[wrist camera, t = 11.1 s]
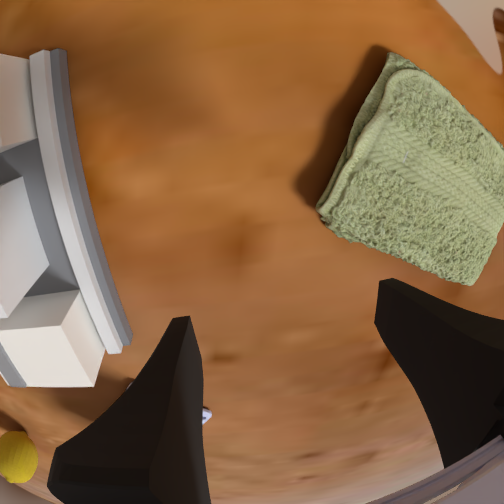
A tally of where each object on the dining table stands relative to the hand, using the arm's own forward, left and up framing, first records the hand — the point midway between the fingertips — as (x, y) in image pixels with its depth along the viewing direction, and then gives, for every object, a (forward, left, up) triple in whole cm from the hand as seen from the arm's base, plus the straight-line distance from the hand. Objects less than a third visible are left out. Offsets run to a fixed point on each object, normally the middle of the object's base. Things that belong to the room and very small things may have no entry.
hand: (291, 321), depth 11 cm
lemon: (-36, +9, -10) cm, 38 cm away
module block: (-8, +14, -8) cm, 18 cm away
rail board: (-8, +14, -9) cm, 19 cm away
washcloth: (+10, -9, -10) cm, 17 cm away
